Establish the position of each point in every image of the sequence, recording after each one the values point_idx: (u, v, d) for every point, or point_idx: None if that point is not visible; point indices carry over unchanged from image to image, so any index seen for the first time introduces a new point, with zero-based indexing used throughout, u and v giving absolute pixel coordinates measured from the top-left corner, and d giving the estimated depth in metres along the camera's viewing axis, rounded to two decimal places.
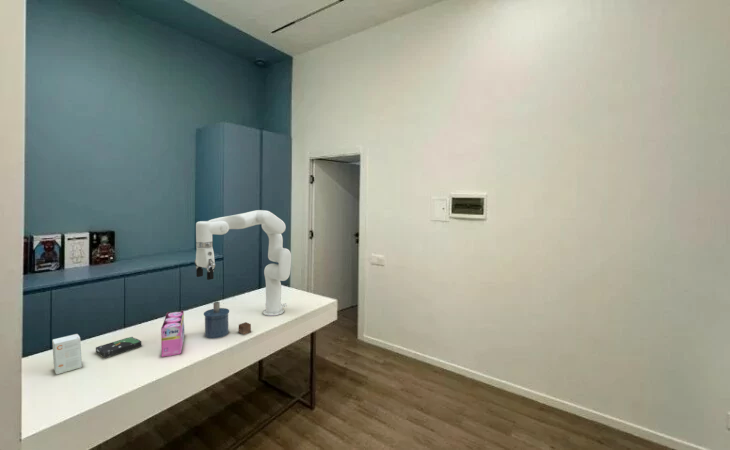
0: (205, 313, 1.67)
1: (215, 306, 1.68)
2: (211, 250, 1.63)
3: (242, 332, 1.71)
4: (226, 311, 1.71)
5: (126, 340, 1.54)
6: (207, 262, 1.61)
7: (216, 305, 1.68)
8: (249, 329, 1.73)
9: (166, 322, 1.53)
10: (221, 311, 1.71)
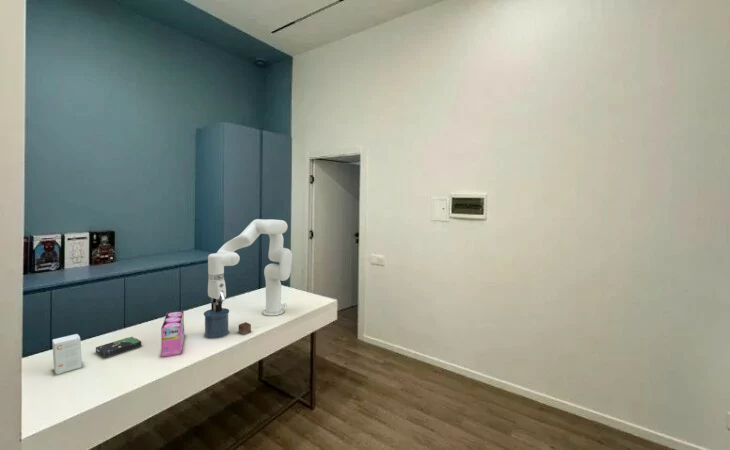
0: (205, 313, 1.67)
1: (215, 306, 1.68)
2: (223, 282, 1.67)
3: (242, 332, 1.71)
4: (226, 311, 1.71)
5: (126, 340, 1.54)
6: (218, 297, 1.66)
7: None
8: (249, 329, 1.73)
9: (166, 322, 1.53)
10: (221, 311, 1.71)
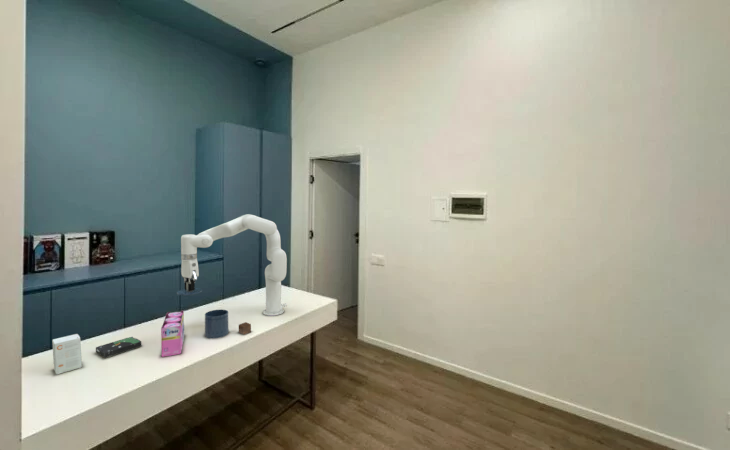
0: (178, 292, 1.74)
1: None
2: (195, 262, 1.73)
3: (242, 332, 1.71)
4: (199, 290, 1.77)
5: (126, 340, 1.54)
6: (191, 276, 1.72)
7: None
8: (249, 329, 1.73)
9: (166, 322, 1.53)
10: (194, 290, 1.77)
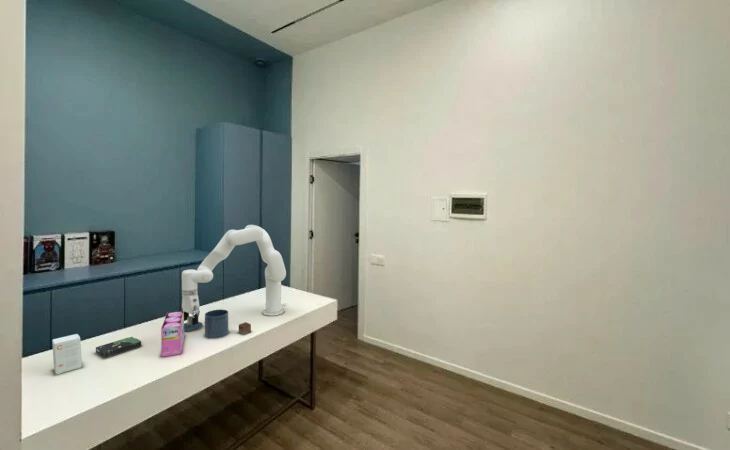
0: None
1: (188, 320, 1.76)
2: (196, 297, 1.75)
3: (242, 332, 1.71)
4: (199, 325, 1.79)
5: (126, 340, 1.54)
6: (192, 309, 1.73)
7: (189, 319, 1.76)
8: (249, 329, 1.73)
9: (166, 322, 1.53)
10: (195, 325, 1.78)
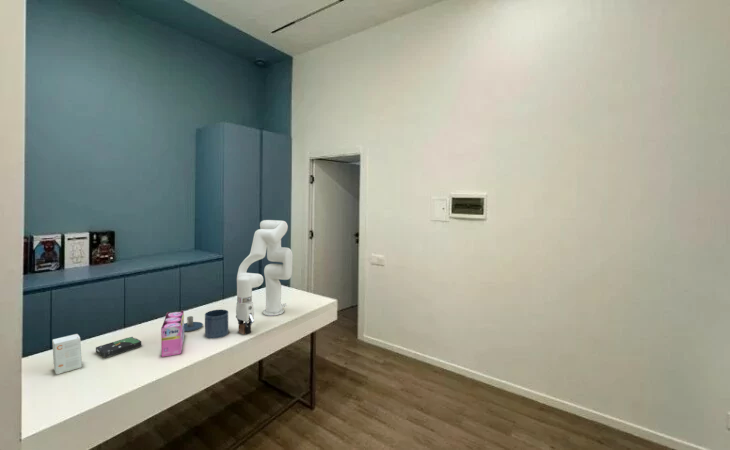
0: None
1: (188, 320, 1.76)
2: (251, 304, 1.71)
3: (242, 332, 1.71)
4: (199, 325, 1.79)
5: (126, 340, 1.54)
6: (247, 319, 1.69)
7: (189, 319, 1.76)
8: None
9: (166, 322, 1.53)
10: (195, 325, 1.78)
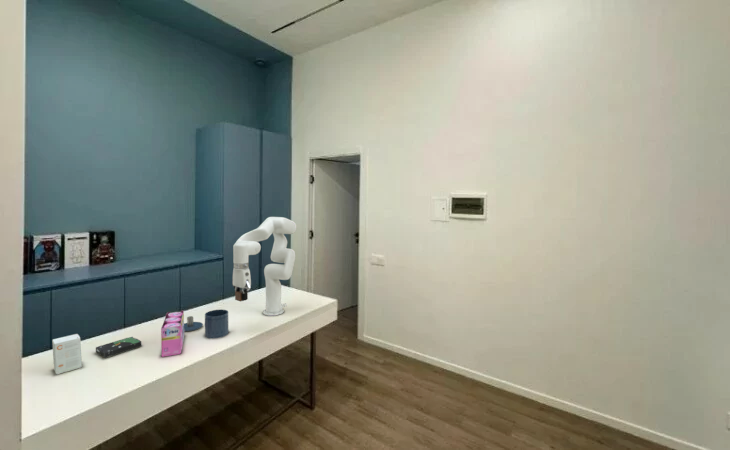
0: None
1: (188, 320, 1.76)
2: (248, 271, 1.69)
3: (239, 299, 1.69)
4: (199, 325, 1.79)
5: (126, 340, 1.54)
6: (244, 285, 1.68)
7: (189, 319, 1.76)
8: None
9: (166, 322, 1.53)
10: (195, 325, 1.78)
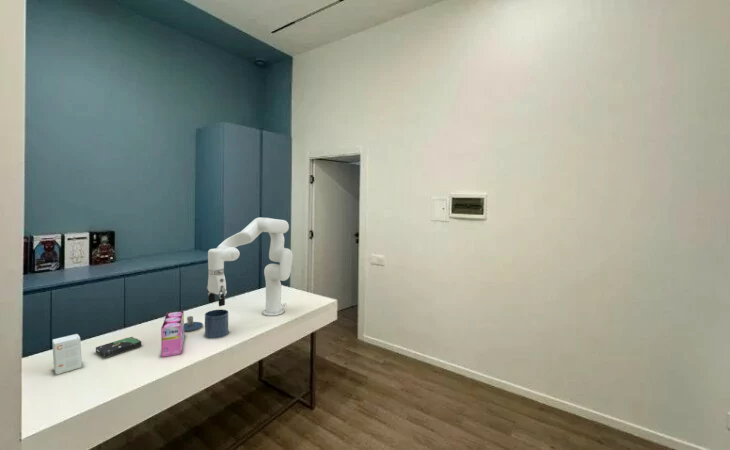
0: None
1: (188, 320, 1.76)
2: (223, 277, 1.67)
3: None
4: (199, 325, 1.79)
5: (126, 340, 1.54)
6: (219, 289, 1.65)
7: (189, 319, 1.76)
8: None
9: (166, 322, 1.53)
10: (195, 325, 1.78)
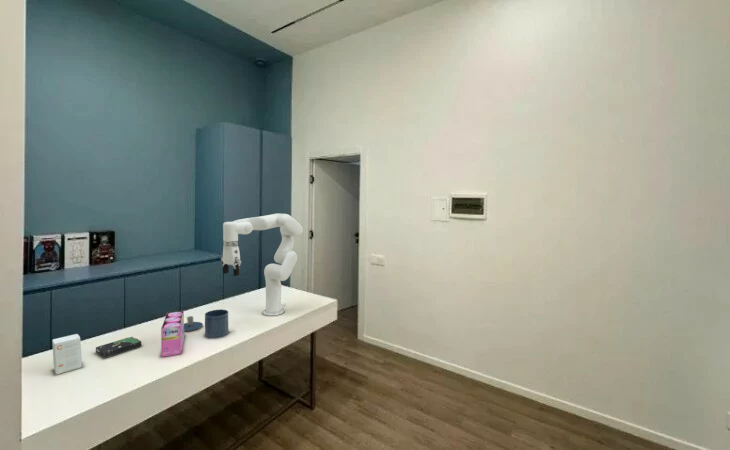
0: None
1: (188, 320, 1.76)
2: (237, 248, 1.75)
3: None
4: (199, 325, 1.79)
5: (126, 340, 1.54)
6: (234, 260, 1.73)
7: (189, 319, 1.76)
8: None
9: (166, 322, 1.53)
10: (195, 325, 1.78)
